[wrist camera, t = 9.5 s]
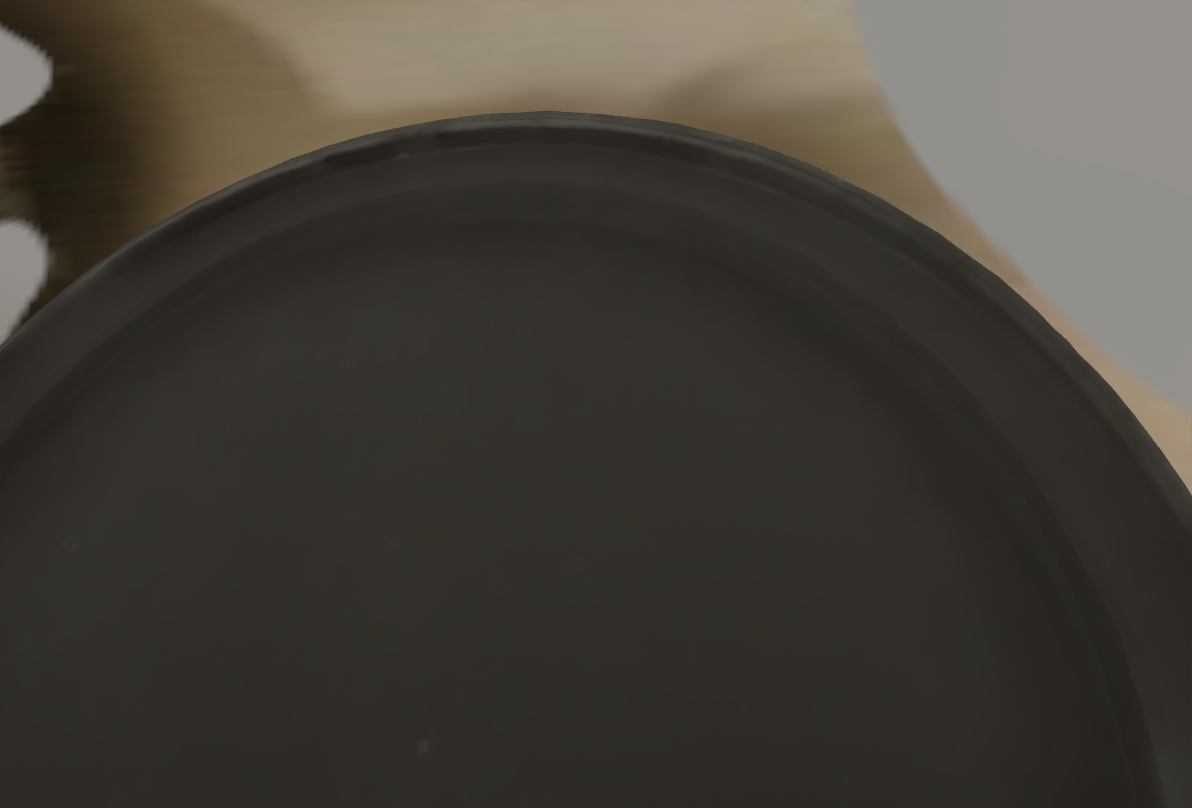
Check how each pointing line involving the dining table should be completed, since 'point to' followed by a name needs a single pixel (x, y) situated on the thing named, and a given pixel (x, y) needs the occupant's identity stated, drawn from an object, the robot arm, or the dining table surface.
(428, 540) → the coffee can
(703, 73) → the dining table surface
